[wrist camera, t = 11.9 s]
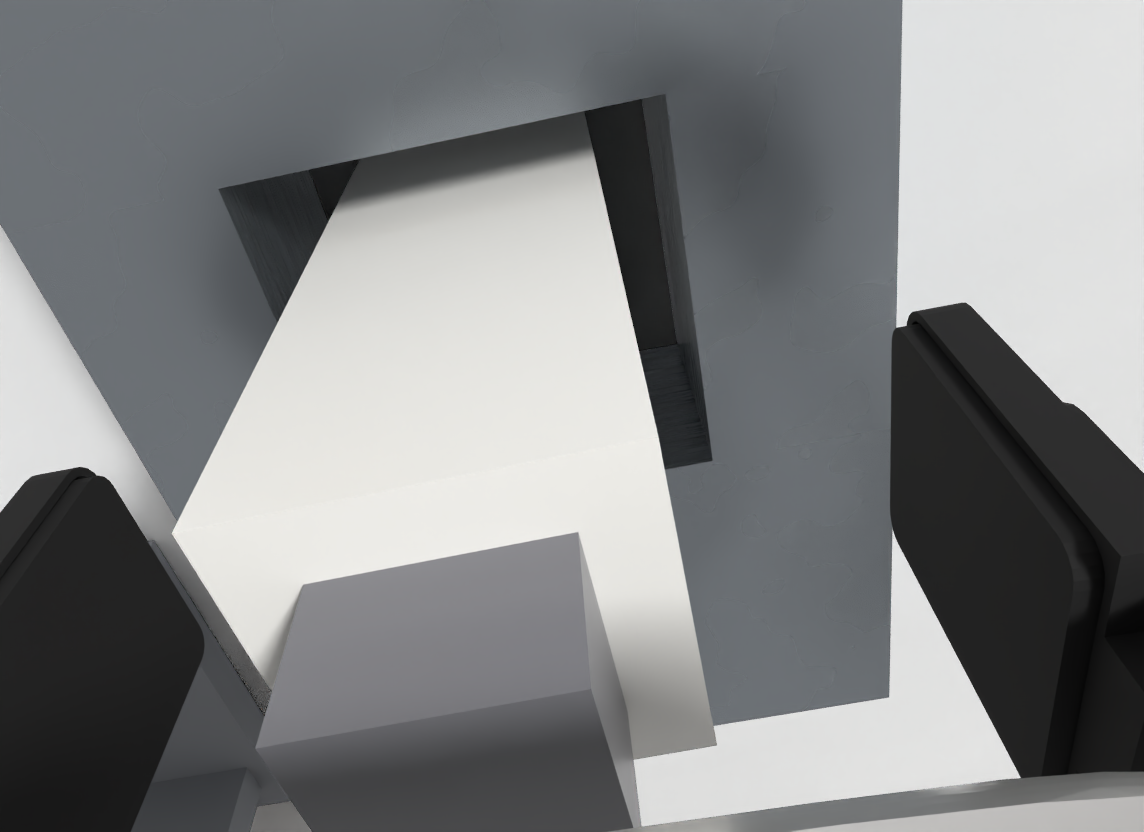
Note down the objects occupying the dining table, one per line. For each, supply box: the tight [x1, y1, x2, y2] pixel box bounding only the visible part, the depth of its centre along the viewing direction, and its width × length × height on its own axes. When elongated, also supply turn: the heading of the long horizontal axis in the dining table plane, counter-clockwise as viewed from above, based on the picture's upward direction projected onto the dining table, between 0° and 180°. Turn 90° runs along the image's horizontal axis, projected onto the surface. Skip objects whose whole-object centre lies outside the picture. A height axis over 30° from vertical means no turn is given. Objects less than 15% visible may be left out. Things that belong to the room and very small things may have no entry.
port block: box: [0, 0, 902, 726], centre depth 14 cm, size 20×12×4 cm, turn 11°
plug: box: [172, 111, 717, 832], centre depth 11 cm, size 4×4×12 cm
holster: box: [131, 540, 290, 832], centre depth 21 cm, size 9×7×4 cm
